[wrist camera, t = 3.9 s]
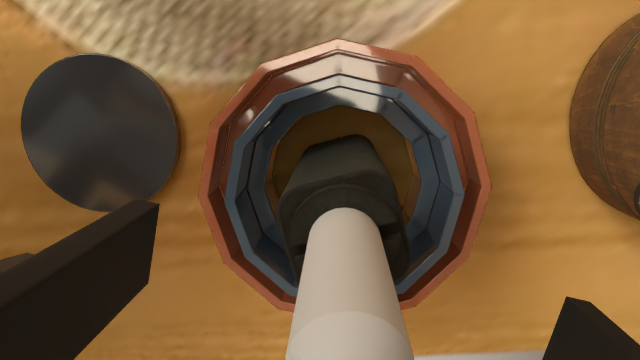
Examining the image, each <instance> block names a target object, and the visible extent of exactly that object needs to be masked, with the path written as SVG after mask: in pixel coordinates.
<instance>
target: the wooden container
mask: <svg viewBox="0 0 640 360" xmlns="http://www.w3.org/2000/svg"><path fill="white" fill-rule="evenodd" d="M570 140H571V147H572V151H573V155H574V158H575V161H576V164H577V166H578V168H579V170H580V172H581V174H582V176H583V178H584V179H585V181H586V182H587V183H588V185H589V186H590V187H591V189H592V190H593V191H594V192H595V193H596V194H597V195H598V196H599V197H600V198H601V199H603V200H604V201H605V202H606V203H608V204H609V205H611V206H613V207H614V208H616V209H618V210H620V211H622V212H624V213H626V214H628V215H630V216H632V217H634V218H636V219H638V220H640V14H638V15H636V16H635V17H633V18H632V19H630V20H628V21H627V22H626V23H624V24H623V25H622V26H621V27H620V28H618V29H617V30H616V31H615V32H614V33H613V34H612V35H610V36H609V37H608V39H607V40H606V41H605V42H604V43H603V44H602V45H601V47H600V48H599V49H598V50H597V52H596V53H595V54H594V56H593V57H592V59H591V60H590V62H589V64H588V65H587V67H586V69H585V71H584V73H583V75H582V77H581V79H580V81H579V84H578V86H577V89H576V92H575V95H574V99H573V104H572V108H571V115H570Z"/></svg>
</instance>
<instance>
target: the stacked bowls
mask: <svg viewBox="0 0 640 360" xmlns="http://www.w3.org/2000/svg"><path fill="white" fill-rule="evenodd" d="M340 53H341V54H340ZM349 55H350V56H349ZM353 56H354V57H353ZM362 58H363V59H362ZM366 59H367V60H366ZM371 60H372V61H371ZM311 61H312V62H311ZM375 61H376V62H375ZM308 62H309V63H308ZM305 63H306V64H305ZM384 63H385V64H384ZM302 64H303V65H302ZM388 64H389V65H388ZM299 65H300V66H299ZM296 66H297V67H296ZM397 66H398V67H397ZM293 67H294V68H293ZM290 68H291V69H290ZM287 69H288V70H287ZM284 70H285V71H284ZM281 71H282V72H281ZM278 72H279V73H278ZM275 73H276V74H275ZM270 77H271V78H270ZM269 78H270V79H269ZM268 79H269V80H268ZM416 79H417V80H418V81H419V82H420V83H421V84H422V85H423V86H424V87H425V88H426V89H427V90H428V91H429V92H430V93H431V94H432V95H431V94H430V93H429V92H428V91H427V90H426V89H425V88H424V87H423V86H422V85H421V84H420V83H419V82H418V81H417V80H416ZM263 85H264V86H263ZM262 86H263V87H262ZM257 92H258V93H257ZM256 93H257V94H256ZM255 94H256V95H255ZM251 99H252V100H251ZM250 100H251V101H250ZM249 101H250V102H249ZM397 104H398V105H399V106H400V107H401V108H402V109H401V108H400V107H399V106H398V105H397ZM338 105H341V106H346V107H350V108H355V109H359V110H364V111H368V112H372V113H377V114H380V115H381V116H382V117H383V118H384V119H385V120H386V121H387V122H388V123H389V124H390V125H391V126H393V127H394V128H395V129H396V130H397V131H398V132H399V133H400V134H401V135H402V136H403V137H404V140H405V144H406V147H407V151H408V155H409V158H410V162H411V166H412V169H413V175H412V179H411V182H410V186H409V190H408V193H407V197H406V201H405V204H404V207H403V208H402V209H401V212H402V216H403V220H404V225H405V229H406V233H407V237H408V242H409V246H410V250H411V263H410V266H409V268H408V270H407V272H406V273H405V274H404V275H403V277H401V278H400V279H398V280H397V281H395V282H393V283H394V287H395V290H396V294H397V298H398V301H399V305H400V309H401V310H404V309H408V308H412V307H416V306H417V305H418V304H419V303H420V302H421V301H422V300H423V299H425V298H426V297H427V296H428V295H429V294H430V293H431V292H432V291H433V290H434V289H435V288H436V287H438V286H439V285H440V284H441V283H442V282H443V281H444V280H445V279H446V278H447V277H448V276H449V275H451V274H452V273H453V272H454V271H455V270H456V269H457V268H458V267H459V266H460V265H461V264H462V263H464V262H465V261H466V260H467V259H468V258H469V257H470V253H471V250H472V247H473V244H474V241H475V238H476V235H477V232H478V228H479V225H480V222H481V219H482V216H483V213H484V210H485V207H486V203H487V200H488V197H489V194H490V191H491V188H492V185H491V181H490V177H489V173H488V168H487V164H486V160H485V156H484V152H483V148H482V143H481V139H480V135H479V131H478V127H477V123H476V118H475V114H474V112H473V111H472V110H471V109H470V108H469V107H468V106H467V105H466V104H465V103H464V102H463V101H462V100H461V99H460V98H459V97H458V96H457V95H456V94H455V93H454V92H453V91H452V90H451V89H450V88H449V87H448V86H447V85H446V84H445V83H444V82H443V81H442V80H441V79H440V78H439V77H438V76H437V75H436V74H435V73H434V72H433V71H432V70H431V69H430V68H429V67H428V66H427V65H426V64H425V63H424V62H423V61H422V60H421V59H420V58H419V57H417V56H414V55H410V54H405V53H401V52H396V51H392V50H388V49H383V48H379V47H375V46H370V45H366V44H361V43H357V42H353V41H348V40H344V39H340V38H336V39H333V40H330V41H327V42H324V43H321V44H318V45H315V46H312V47H309V48H306V49H303V50H300V51H297V52H294V53H291V54H288V55H285V56H282V57H279V58H276V59H273V60H270V61H267V62H264V63H261V64H260V65H259V66H258V67H257V68H256V70H255V71H254V72H253V73H252V74H251V75H250V77H249V78H248V79H247V80H246V81H245V83H244V84H243V85H242V86H241V87H240V88H239V90H238V91H237V92H236V93H235V94H234V95H233V97H232V98H231V99H230V100H229V101H228V103H227V104H226V105H225V106H224V107H223V108H222V110H221V111H220V112H219V113H218V114H217V115H216V117H215V118H214V119H213V120H212V121H211V122H210V127H209V133H208V139H207V145H206V151H205V157H204V163H203V169H202V175H201V182H200V188H199V194H198V198H199V200H200V203H201V205H202V208H203V211H204V213H205V216H206V219H207V221H208V224H209V226H210V229H211V232H212V234H213V237H214V239H215V242H216V245H217V247H218V250H219V252H220V255H221V258H222V260H223V263H224V264H225V265H226V266H228V267H229V268H230V269H231V270H232V271H234V272H235V273H236V274H237V275H238V276H239V277H241V278H242V279H243V280H244V281H245V282H247V283H248V284H249V285H250V286H251V287H252V288H254V289H255V290H256V291H257V292H258V293H260V294H261V295H262V296H263V297H264V298H265V299H267V300H268V301H269V302H270V303H271V304H273V305H274V306H275V307H276V308H277V309H280V310H285V311H289V312H294V310H295V305H296V299H297V294H298V289H299V286H298V284H297V282H296V280H295V278H294V274H293V271H292V268H291V264H290V261H289V257H288V254H287V251H286V247H285V244H284V241H283V237H282V234H281V231H280V227H279V224H278V220H277V215H276V210H277V205H278V202H279V198H278V195H277V192H276V189H275V186H274V183H273V180H272V172H273V167H274V162H275V157H276V152H277V147H278V142H279V141H280V140H281V139H282V137H283V136H284V135H285V134H286V133H287V132H288V131H289V130H290V129H291V128H292V126H293V125H294V124H295V123H296V122H297V121H298V120H299V119H300V118H301V117H304V116H307V115H310V114H313V113H316V112H319V111H323V110H326V109H329V108H332V107H335V106H338ZM244 107H245V108H244ZM243 108H244V109H243ZM283 108H284V109H283ZM282 109H283V110H282ZM238 114H239V115H238ZM237 115H238V116H237ZM275 117H276V118H275ZM453 117H454V119H453ZM274 118H275V119H274ZM232 121H233V122H232ZM454 121H455V123H454ZM231 122H232V123H231ZM230 123H231V124H230ZM455 125H456V127H455ZM267 126H268V127H267ZM229 127H230V130H229ZM422 128H423V129H424V130H425V131H426V132H425V131H424V130H423V129H422ZM456 129H457V131H456ZM228 133H229V135H228ZM427 133H428V134H427ZM457 133H458V135H457ZM259 135H260V136H259ZM428 137H429V138H428ZM458 137H459V139H458ZM227 138H228V141H227ZM255 140H256V142H255ZM429 140H430V142H429ZM459 141H460V143H459ZM226 144H227V147H226ZM430 144H431V146H430ZM254 145H255V147H254ZM460 145H461V147H460ZM431 148H432V149H431ZM461 149H462V151H461ZM225 150H226V153H225ZM253 150H254V152H253ZM432 152H433V153H432ZM462 153H463V155H462ZM224 155H225V158H224ZM252 155H253V158H252ZM433 156H434V157H433ZM463 157H464V159H463ZM434 159H435V161H434ZM223 161H224V164H223ZM251 161H252V163H251ZM464 161H465V163H464ZM435 163H436V165H435ZM465 165H466V167H465ZM250 166H251V168H250ZM222 167H223V170H222ZM436 167H437V168H436ZM466 169H467V171H466ZM249 171H250V173H249ZM437 171H438V172H437ZM221 173H222V175H221ZM467 173H468V175H467ZM438 174H439V176H438ZM248 177H249V179H248ZM468 177H469V179H468ZM220 178H221V181H220ZM467 180H468V182H467ZM247 182H248V184H247ZM466 183H467V185H466ZM219 184H220V187H219ZM465 186H466V189H465ZM220 188H221V190H220ZM464 189H465V192H464ZM221 191H222V193H221ZM222 194H223V195H222ZM223 196H224V198H223Z"/></svg>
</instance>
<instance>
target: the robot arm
mask: <svg viewBox="0 0 640 360" xmlns="http://www.w3.org/2000/svg"><path fill="white" fill-rule="evenodd" d="M159 205H160V204H157V203H153V202H149V201H144V200H140V199H134V200H133V201H131V202H129V203H127V204H125V205H124V206H122V207H120V208H118V209H116V210H115V211H113V212H111V213H109V214H107V215H106V216H104V217H102V218H100V219H98V220H96V221H95V222H93V223H91V224H89V225H87V226H86V227H84V228H82V229H80V230H78V231H77V232H75V233H73V234H71V235H69V236H68V237H66V238H64V239H62V240H60V241H59V242H57V243H55V244H53V245H51V246H50V247H48V248H46V249H44V250H42V251H41V252H39V253H37V254H35V255H34V254H30V253H25V254H21V255H17V256H13V257H9V258H6V259H2V260H0V360H74V359H75V358H76V356H77V355H78V354H79V353H80V352H81V351H82V350H83V349H84V348H85V347H86V346H87V345H88V344H89V343H90V342H91V341H92V340H93V339H94V338H95V337H96V336H97V335H98V334H99V333H100V332H101V331H102V330H103V329H104V328H105V327H106V326H107V325H108V324H109V323H110V322H111V321H112V320H113V319H114V318H115V316H116V315H117V314H118V313H119V312H120V311H121V310H122V309H123V308H124V307H125V306H126V305H127V304H128V303H129V302H130V301H131V300H132V299H133V298H134V297H135V296H136V295H137V294H138V293H139V292H140V291H141V290H142V289H143V288H144V287H145V286H146V285H147V284H148V281H149V274H150V268H151V261H152V254H153V247H154V240H155V233H156V226H157V219H158V212H159ZM543 360H640V345H639V344H638V343H637V342H635V341H634V340H633V339H632V338H631V337H630V336H629V335H627V334H626V333H625V332H624V331H623V330H622V329H621V328H619V327H618V326H617V325H616V324H615V323H614V322H613V321H611V320H610V319H609V318H608V317H607V316H606V315H605V314H603V313H602V312H601V311H600V310H599V309H598V308H597V307H595V306H594V305H593V304H592V303H591V302H588V301H584V300H580V299H575V298H571V297H566V299H565V302H564V304H563V307H562V309H561V312H560V315H559V317H558V320H557V323H556V325H555V328H554V330H553V333H552V336H551V338H550V341H549V344H548V346H547V349H546V351H545V354H544V357H543Z"/></svg>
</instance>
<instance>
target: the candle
mask: <svg viewBox="0 0 640 360" xmlns="http://www.w3.org/2000/svg"><path fill="white" fill-rule="evenodd" d="M276 215H277V220H278V224H279V227H280V231H281V234H282V237H283V241H284V244H285V247H286V251H287V254H288V257H289V261H290V264H291V268H292V271H293V274H294V278H295V280H296V282H297V284H298V286H299V289H298V294H297V299H296V305H295V310H294V315H293V320H292V325H291V330H290V335H289V341H288V346H287V351H286V357H285V360H414V356H413V352H412V348H411V345H410V341H409V338H408V334H407V330H406V327H405V323H404V319H403V316H402V312H401V309H400V305H399V301H398V298H397V294H396V290H395V287H394V283H393V282H395V281H397V280H398V279H400V278H401V277H403V275H404V274H405V273H406V272H407V270H408V268H409V266H410V263H411V250H410V246H409V242H408V237H407V233H406V229H405V225H404V220H403V216H402V212H401V207H400V203H399V199H398V195H397V191H396V188H395V185H394V183H393V181H392V180H391V178H390V176H389V174H388V172H387V170H386V169H385V167H384V165H383V163H382V161H381V160H380V158H379V156H378V154H377V152H376V151H375V149H374V147H373V145H372V143H371V142H370V141H369V139H368V138H366V137H365V136H363V135H359V134H354V135H349V136H345V137H341V138H337V139H333V140H330V141H326V142H322V143H318V144H314V145H312V146H309V147H308V148H307V149H306V150H305V151H304V152H303V154H302V156H301V158H300V160H299V162H298V164H297V166H296V168H295V170H294V172H293V174H292V176H291V178H290V180H289V182H288V184H287V186H286V188H285V190H284V192H283V194H282V196H281V198H280V200H279V202H278V205H277V210H276Z"/></svg>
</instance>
